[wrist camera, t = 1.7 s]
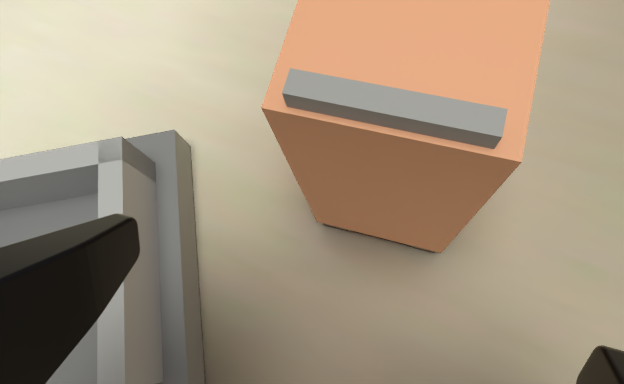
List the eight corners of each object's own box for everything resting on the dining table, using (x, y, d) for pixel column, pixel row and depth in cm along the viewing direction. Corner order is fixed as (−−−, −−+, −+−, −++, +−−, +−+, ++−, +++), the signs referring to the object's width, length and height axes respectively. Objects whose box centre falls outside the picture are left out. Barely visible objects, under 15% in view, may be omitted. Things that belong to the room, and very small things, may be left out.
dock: (207, 423, 20) (155, 453, 15) (-73, 461, 21) (-206, 500, 16) (190, 146, 24) (144, 99, 19) (-45, 188, 25) (-144, 154, 20)
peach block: (437, 256, 20) (531, 150, 8) (319, 226, 22) (254, 94, 10) (457, 164, 22) (564, -45, 10) (344, 139, 23) (314, -76, 11)
